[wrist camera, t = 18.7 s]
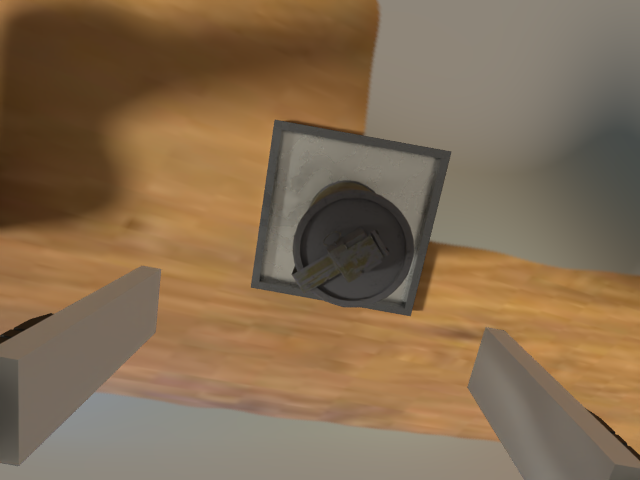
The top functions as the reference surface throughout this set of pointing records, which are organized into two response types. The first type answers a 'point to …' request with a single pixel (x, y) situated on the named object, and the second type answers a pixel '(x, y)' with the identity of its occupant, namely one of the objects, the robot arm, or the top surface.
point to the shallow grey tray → (337, 165)
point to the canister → (351, 246)
